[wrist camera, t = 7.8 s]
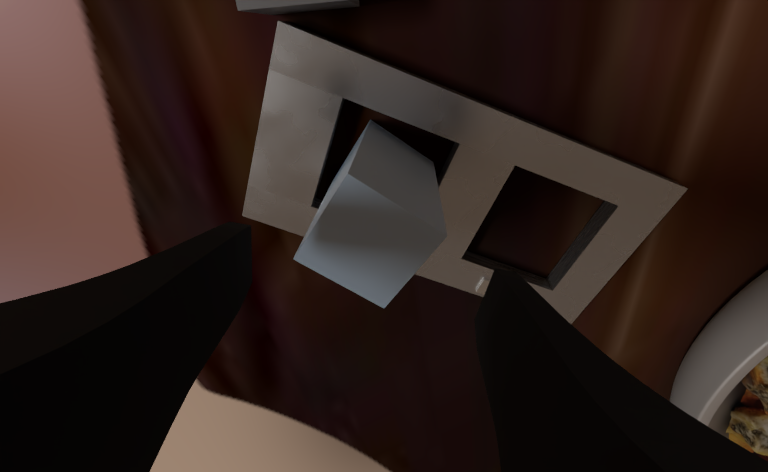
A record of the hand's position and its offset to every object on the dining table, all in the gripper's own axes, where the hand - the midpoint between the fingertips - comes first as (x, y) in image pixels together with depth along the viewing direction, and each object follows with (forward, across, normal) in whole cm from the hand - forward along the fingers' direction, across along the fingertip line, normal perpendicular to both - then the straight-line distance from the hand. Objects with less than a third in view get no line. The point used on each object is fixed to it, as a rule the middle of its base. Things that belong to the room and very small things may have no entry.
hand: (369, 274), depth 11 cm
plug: (+10, 0, 0) cm, 10 cm away
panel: (+10, -4, +1) cm, 11 cm away
